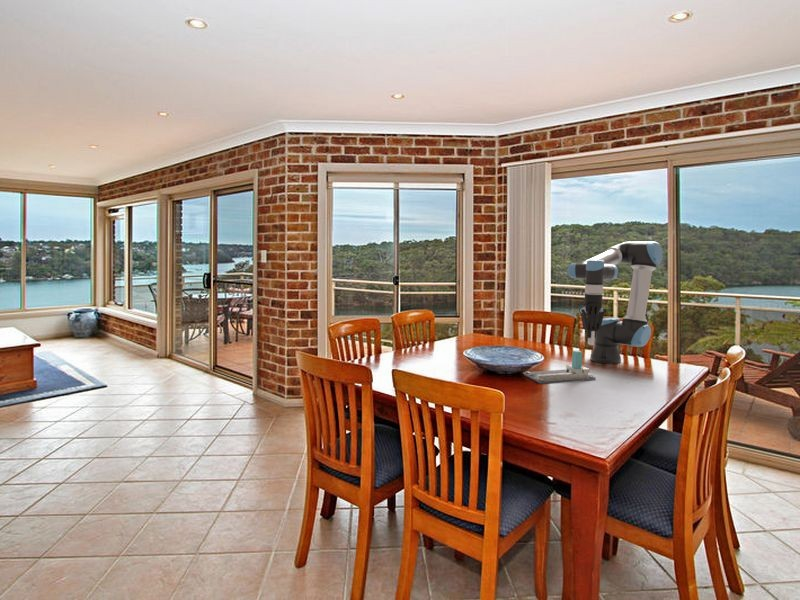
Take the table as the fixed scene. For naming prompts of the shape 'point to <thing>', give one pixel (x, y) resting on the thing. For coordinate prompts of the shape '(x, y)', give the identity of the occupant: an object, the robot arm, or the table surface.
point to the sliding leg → (575, 363)
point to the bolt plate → (534, 376)
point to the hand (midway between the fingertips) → (590, 344)
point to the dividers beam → (565, 375)
